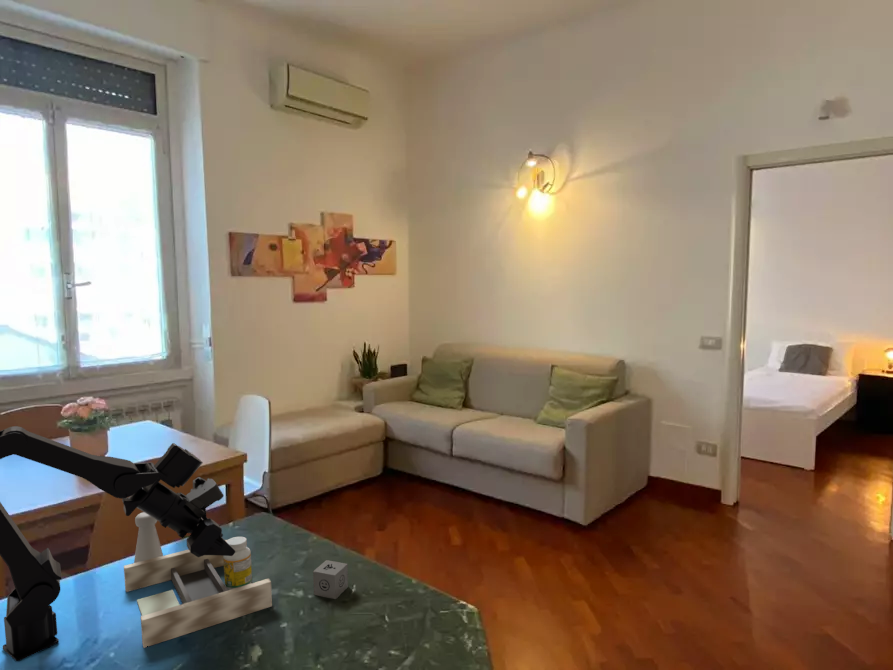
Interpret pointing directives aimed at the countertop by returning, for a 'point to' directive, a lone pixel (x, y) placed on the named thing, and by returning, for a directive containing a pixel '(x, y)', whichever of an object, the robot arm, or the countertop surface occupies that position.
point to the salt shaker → (147, 538)
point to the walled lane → (190, 595)
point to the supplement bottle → (238, 564)
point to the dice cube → (330, 579)
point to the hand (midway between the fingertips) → (227, 545)
